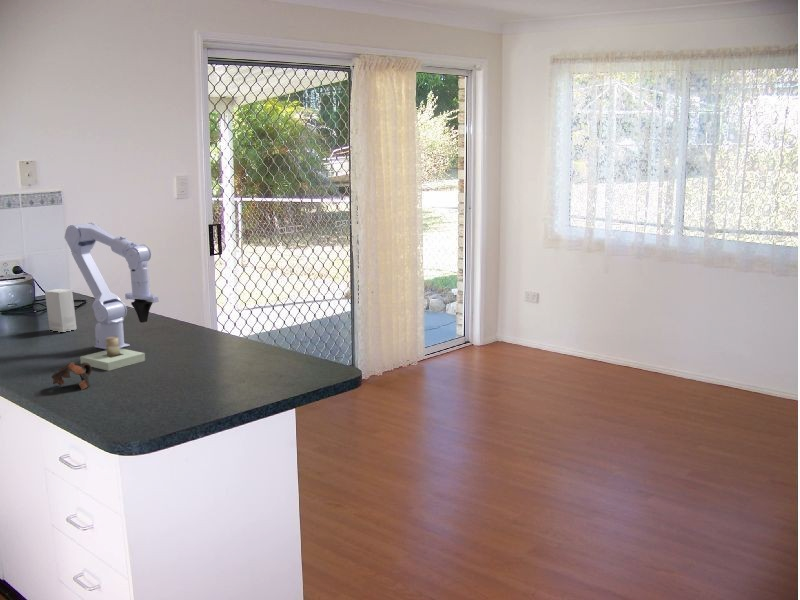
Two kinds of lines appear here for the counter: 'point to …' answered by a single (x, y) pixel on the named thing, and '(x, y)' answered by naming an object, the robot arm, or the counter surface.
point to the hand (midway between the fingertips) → (143, 321)
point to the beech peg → (112, 346)
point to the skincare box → (60, 310)
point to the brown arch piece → (77, 370)
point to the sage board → (113, 359)
